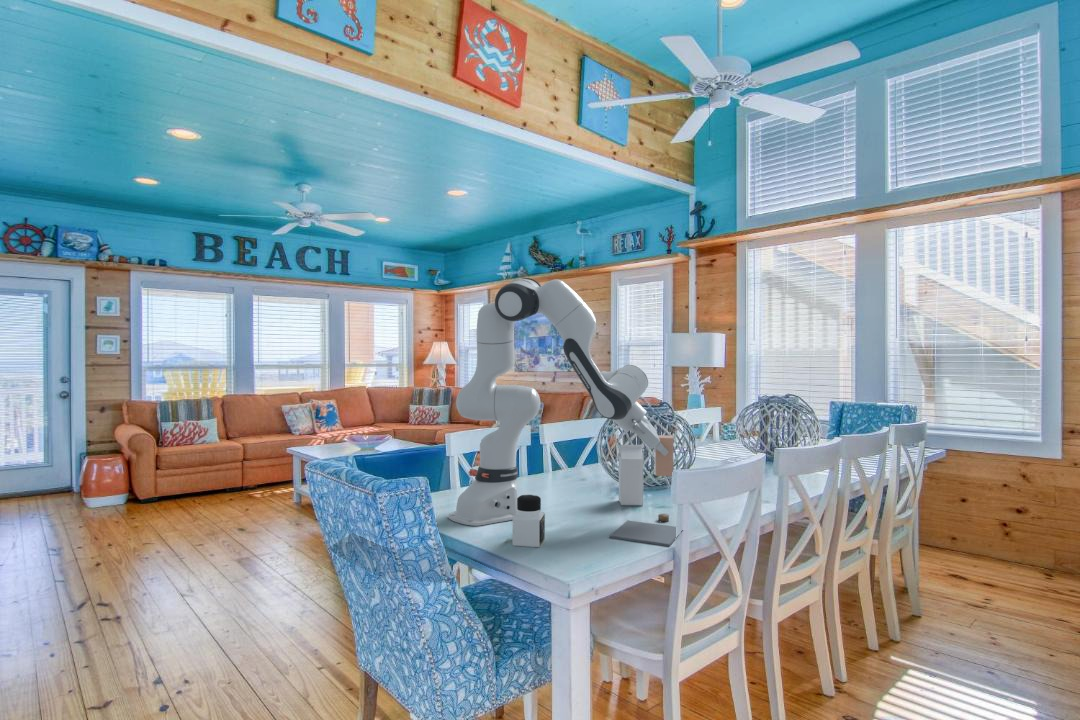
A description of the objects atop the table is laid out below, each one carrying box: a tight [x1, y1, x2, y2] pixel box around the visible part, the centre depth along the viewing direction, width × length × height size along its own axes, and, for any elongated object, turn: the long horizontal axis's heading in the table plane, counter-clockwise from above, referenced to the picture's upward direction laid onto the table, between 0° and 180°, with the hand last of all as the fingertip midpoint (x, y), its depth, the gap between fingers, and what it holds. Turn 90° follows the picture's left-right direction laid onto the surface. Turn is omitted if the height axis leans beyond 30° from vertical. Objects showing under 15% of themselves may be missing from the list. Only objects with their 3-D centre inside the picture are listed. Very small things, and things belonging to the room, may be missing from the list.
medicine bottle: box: [512, 493, 546, 548], centre depth 151 cm, size 7×7×12 cm
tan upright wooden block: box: [654, 434, 674, 477], centre depth 173 cm, size 5×5×11 cm
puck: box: [657, 513, 670, 523], centre depth 172 cm, size 3×3×2 cm
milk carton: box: [618, 444, 645, 506], centre depth 193 cm, size 7×7×19 cm
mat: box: [608, 520, 677, 547], centre depth 159 cm, size 16×16×1 cm
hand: (665, 451), depth 173 cm, fingers closed on tan upright wooden block, 5 cm apart
